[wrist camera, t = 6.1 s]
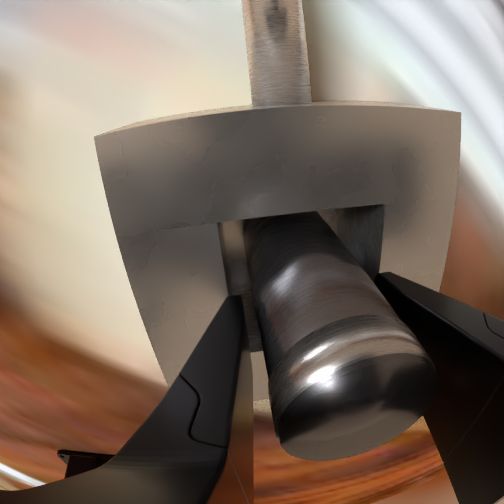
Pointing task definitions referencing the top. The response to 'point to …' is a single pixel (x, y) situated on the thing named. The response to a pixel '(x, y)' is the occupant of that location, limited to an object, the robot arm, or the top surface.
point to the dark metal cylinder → (330, 343)
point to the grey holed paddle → (272, 188)
